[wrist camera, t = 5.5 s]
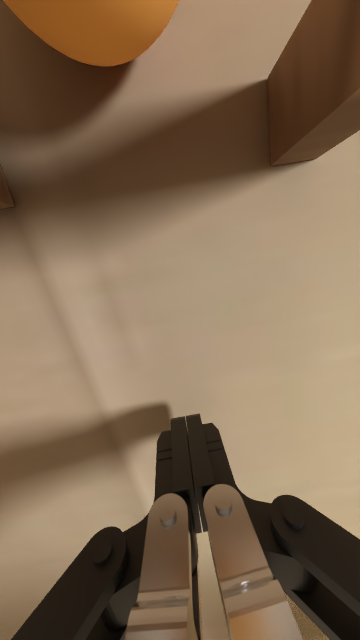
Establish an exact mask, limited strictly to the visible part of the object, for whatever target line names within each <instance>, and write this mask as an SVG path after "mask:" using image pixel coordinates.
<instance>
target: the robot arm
mask: <svg viewBox="0 0 360 640" xmlns="http://www.w3.org/2000/svg"><path fill="white" fill-rule="evenodd" d="M186 422H187V426H186ZM187 429H188V431H187ZM156 461H157V462H156V479H155V498H154V503H153V505H152V507H151V509H150V511H149V513H148V514H147V516H146V517H145V518H144V519H143V520H142V521H141V522H139V523H138V524H136V525H134V526H133V527H131V528H129V529H128V530H126V531H124V532H122V531H121V530H120V529H119V528H117V527H107V528H104V529H102V530H100V531H99V532H97V533H96V534H95V535H94V536H93V537H92V538H91V540H90V541H89V542H88V543H87V545H86V546H85V547H84V548H83V550H82V551H81V552H80V553H79V555H78V556H77V557H76V558H75V560H74V561H73V562H72V564H71V565H70V566H69V567H68V569H67V570H66V571H65V572H64V574H63V575H62V576H61V577H60V579H59V580H58V581H57V582H56V584H55V585H54V586H53V587H52V589H51V590H50V591H49V593H48V594H47V595H46V596H45V598H44V599H43V600H42V601H41V603H40V604H39V605H38V606H37V608H36V609H35V610H34V611H33V613H32V614H31V615H30V616H29V618H28V619H27V620H26V622H25V623H24V624H23V625H22V627H21V628H20V629H19V630H18V632H17V633H16V634H15V635H14V637H13V638H12V639H11V640H203V638H202V619H201V600H200V582H199V563H198V546H197V537H196V533H202V531H201V524H200V517H201V522H202V527H203V532H206V531H208V535H209V541H210V546H211V552H212V557H213V563H214V567H215V572H216V577H217V581H218V586H219V591H220V595H221V600H222V604H223V609H224V614H225V618H226V623H227V628H228V632H229V637H230V640H303V637H302V635H301V632H300V630H299V627H298V625H297V623H296V620H295V618H294V615H293V613H292V610H291V608H290V605H289V603H288V601H287V598H286V596H285V594H284V592H285V593H286V594H287V595H288V596H289V597H290V598H291V600H292V601H293V602H294V603H295V604H296V605H297V606H298V607H299V608H300V609H301V610H302V611H303V612H304V613H305V614H306V615H307V616H308V617H309V618H310V619H311V620H312V621H313V622H314V623H315V624H316V625H317V626H318V627H319V628H320V629H321V630H322V631H323V633H324V634H325V635H326V636H327V637H328V638H329V639H330V640H360V539H358V538H357V537H355V536H354V535H352V534H351V533H350V532H348V531H347V530H345V529H344V528H342V527H341V526H339V525H338V524H336V523H335V522H333V521H332V520H330V519H329V518H327V517H326V516H325V515H323V514H322V513H320V512H319V511H317V510H316V509H314V508H313V507H311V506H310V505H308V504H307V503H305V502H304V501H302V500H301V499H299V498H297V497H295V496H291V495H281V496H279V497H277V498H275V499H274V501H273V502H272V504H271V503H266V502H261V501H256V500H253V499H250V498H248V497H247V496H245V495H244V494H243V493H242V492H241V491H240V490H239V489H238V487H237V486H236V484H235V481H234V478H233V475H232V472H231V468H230V465H229V462H228V459H227V455H226V452H225V450H224V446H223V443H222V439H221V436H220V433H219V430H218V429H217V428H216V427H215V426H214V424H213V423H208V424H202V422H201V417H200V414H194V415H189V416H186V420H185V416H184V417H178V418H172V419H171V430H169V431H164V432H161V434H160V436H159V438H158V441H157V456H156ZM198 506H199V508H198ZM199 511H200V516H199Z"/></svg>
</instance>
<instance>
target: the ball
mask: <svg viewBox="0 0 360 640" xmlns="http://www.w3.org/2000/svg"><path fill="white" fill-rule="evenodd" d="M3 1H4V3H5V4H6V5H7V6H8V7H9V8H10V9H11V10H12V12H13V13H14V14H15V15H16V16H17V17H18V18H19V19H20V20H21V21H22V22H23V23H24V24H25V25H26V26H27V27H28V28H29V29H30V30H31V31H33V32H34V33H35V34H36V35H37V36H38V37H40V38H41V39H42V40H43V41H45V42H46V43H47V44H48V45H50V46H51V47H53V48H54V49H56V50H58V51H59V52H61V53H63V54H64V55H66V56H68V57H70V58H72V59H74V60H77V61H79V62H82V63H86V64H90V65H96V66H115V65H120V64H123V63H126V62H128V61H131V60H133V59H134V58H136V57H138V56H140V55H141V54H142V53H143V52H144V51H146V50H147V49H148V48H149V47H150V46H151V45H152V44H153V43H154V42H155V40H156V39H157V38H158V37H159V36H160V35H161V33H162V32H163V30H164V29H165V27H166V26H167V24H168V22H169V20H170V18H171V16H172V15H173V13H174V11H175V9H176V7H177V5H178V2H179V0H3Z"/></svg>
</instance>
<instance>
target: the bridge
mask: <svg viewBox="0 0 360 640" xmlns="http://www.w3.org/2000/svg"><path fill="white" fill-rule="evenodd" d="M268 103H269V133H270V164H271V166H274V165H280V164H286V163H292V162H299V161H305V160H311V159H316V158H318V157H319V156H321V155H322V154H324V153H325V152H327V151H328V150H330V149H332V148H333V147H335V146H336V145H338V144H339V143H341V142H342V141H344V140H345V139H347V138H348V137H350V136H351V135H353V134H354V133H356V132H357V131H359V130H360V0H312V1H311V3H310V4H309V6H308V8H307V10H306V11H305V13H304V15H303V17H302V18H301V20H300V22H299V24H298V25H297V27H296V29H295V31H294V32H293V34H292V36H291V38H290V39H289V41H288V43H287V45H286V46H285V48H284V50H283V52H282V53H281V55H280V57H279V59H278V61H277V62H276V64H275V66H274V68H273V69H272V71H271V73H270V75H269V76H268ZM8 207H15V206H14V203H13V200H12V197H11V194H10V191H9V188H8V185H7V183H6V180H5V177H4V174H3V171H2V168H1V165H0V209H2V208H8Z"/></svg>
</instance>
